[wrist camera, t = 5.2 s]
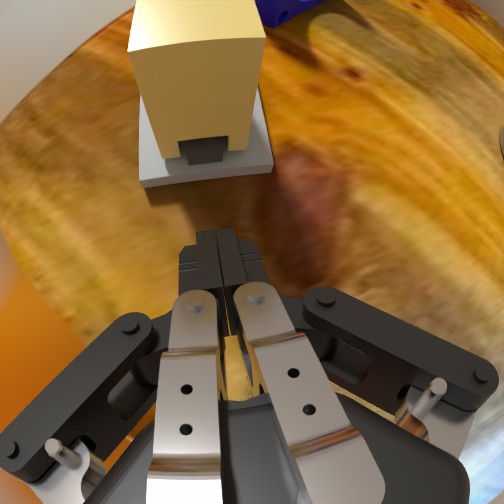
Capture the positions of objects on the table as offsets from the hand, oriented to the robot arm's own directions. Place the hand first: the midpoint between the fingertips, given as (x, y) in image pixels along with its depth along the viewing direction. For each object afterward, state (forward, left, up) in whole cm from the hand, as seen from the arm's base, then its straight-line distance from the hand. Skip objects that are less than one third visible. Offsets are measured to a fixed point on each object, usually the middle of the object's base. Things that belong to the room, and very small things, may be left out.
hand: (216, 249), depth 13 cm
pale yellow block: (0, -9, -4) cm, 10 cm away
